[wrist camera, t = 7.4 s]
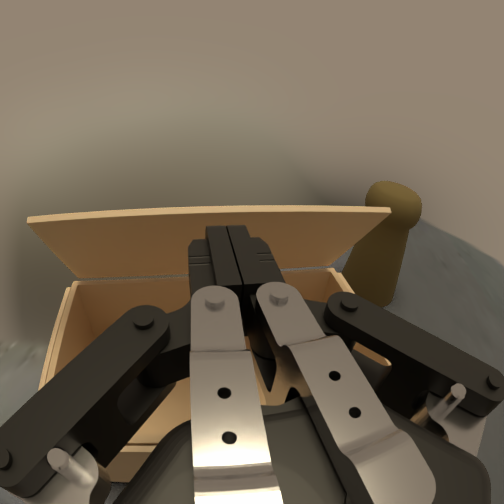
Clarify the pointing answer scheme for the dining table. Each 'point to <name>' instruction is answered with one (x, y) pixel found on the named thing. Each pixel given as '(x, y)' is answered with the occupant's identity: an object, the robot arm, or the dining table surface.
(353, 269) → the cork
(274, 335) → the robot arm
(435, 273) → the dining table surface
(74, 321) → the carton
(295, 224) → the flap
